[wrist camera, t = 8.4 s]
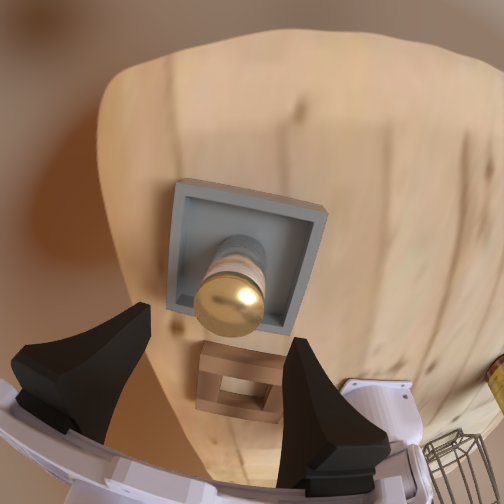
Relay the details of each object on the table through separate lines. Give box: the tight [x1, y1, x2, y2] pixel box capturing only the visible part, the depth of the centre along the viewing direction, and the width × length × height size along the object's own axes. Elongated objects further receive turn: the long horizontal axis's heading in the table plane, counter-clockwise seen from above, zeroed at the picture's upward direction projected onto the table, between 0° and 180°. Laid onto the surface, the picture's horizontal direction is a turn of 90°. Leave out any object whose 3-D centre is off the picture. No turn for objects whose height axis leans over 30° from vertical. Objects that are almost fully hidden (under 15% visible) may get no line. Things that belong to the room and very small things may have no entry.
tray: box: [166, 178, 328, 336], centre depth 21 cm, size 11×11×2 cm
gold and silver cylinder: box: [193, 235, 267, 337], centre depth 18 cm, size 4×4×7 cm
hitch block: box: [195, 341, 286, 424], centre depth 27 cm, size 10×10×2 cm
